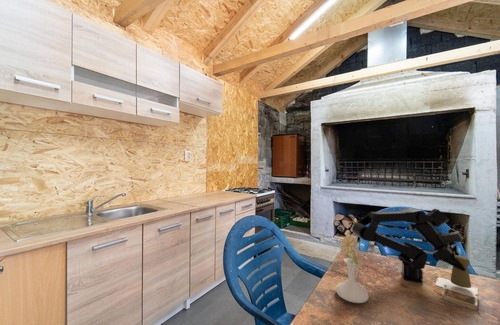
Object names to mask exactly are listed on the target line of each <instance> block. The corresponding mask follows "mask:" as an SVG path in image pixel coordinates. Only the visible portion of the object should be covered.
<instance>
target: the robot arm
mask: <svg viewBox="0 0 500 325" xmlns="http://www.w3.org/2000/svg"><path fill="white" fill-rule="evenodd" d="M386 222H387V223H390V222H391V223H392V222H407V223H409V224H408V226H409V227H408V231H409V232H411V231H413V230H415V231H416V232H417V233H418V234H419V235H420V236H421V237H422V238H423V239H424V242H425V243H428V244H429V245H430V246H431V247H432V248H433V249H432V250H433V252H432V258H434V260H435V261H436V262H439V261H440V262H444V263H446V264H448V265H450V266H452V267H453V266H454V267H456V268H458V269H460V270H462V271H465V270H466V269H465V268H464V266H463V265H462V264H461V263H460V262H459V260H458V259H457V258H456V257H455V255H460V256H461V254H460V253H459V252H458V244H457V243H461V242H463V240H464V238H463V236H462V234H461V232H460V231H458V230H455V229H454V228H451V229H448V232H445V233H442V232H441V231H437V230H436V229H438V228H440V227H441V226H442V225H444V224H446V223H448V222H449V217H448V216H447V215H446V214H445V213H443V212H441V211H440V209H437V208H433V209H432V210H431V211H430V212H428V213H426V212H425V211H424V210H420V209H416V208H413V207H407V208H403V209H401V210H398V211H371V212H368V214H367V215H365V216H363V217H362V218H361V219H358V221H357V222H356V223H354V224H353V226H352V229H351V230H352V233H353V235H354V236H357V237H358V238H360V239H362V240H363V241H367V242H371V243H377V244H380V245H382V246H385V247H387V248H389V249H391V250H394V251H395V252H398V253H399V254H398V255H397V258H398V260H399V261H401V272H400V274H401V276H402V277H403V279H404V281H409V282H415V283H422V284H423V282H424V281H423V279H424V275H423V273H424V272H423V269H425V267H426V264H427V261H428V255H427V254H428V253H427V251H426V252H425V251H424V250H425V249H424V248H421V247H419V246H417V245H415V244H413V243H410V242H408V241H406V240H405V241H404V243H401V242H399V241H396V240H394V239H391V238H389V237H387V236H384V235H382V234H380V233H378V232H377V230H378V227H379V225H380V223H386ZM367 225H368V226H367Z"/></svg>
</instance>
